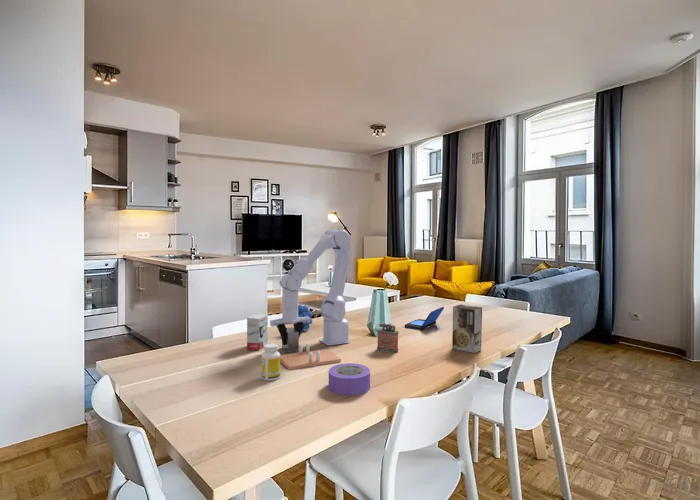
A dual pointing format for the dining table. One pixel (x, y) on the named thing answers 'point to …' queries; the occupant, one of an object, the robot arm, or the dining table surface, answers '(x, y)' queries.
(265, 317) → the ink box
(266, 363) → the supplement bottle
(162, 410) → the dining table surface
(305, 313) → the grapes
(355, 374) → the tape roll
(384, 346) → the lighter
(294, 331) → the grey rectangular block
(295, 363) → the pin tray
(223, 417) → the dining table surface
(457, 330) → the coffee box
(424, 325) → the handheld game console
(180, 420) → the dining table surface
